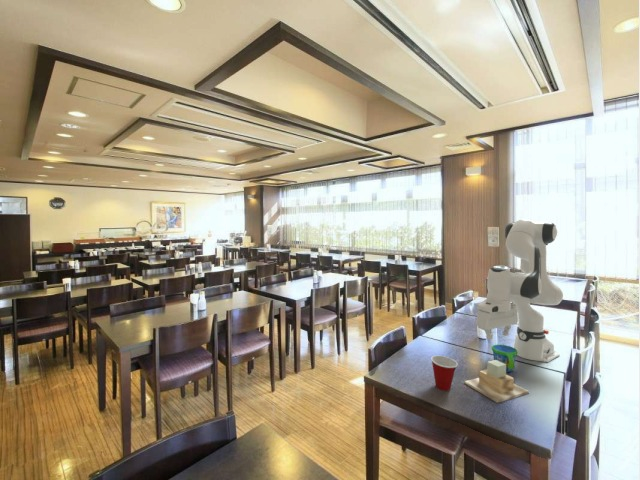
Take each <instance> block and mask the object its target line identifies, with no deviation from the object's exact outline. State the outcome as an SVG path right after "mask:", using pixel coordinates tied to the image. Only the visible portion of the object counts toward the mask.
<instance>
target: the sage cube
mask: <svg viewBox="0 0 640 480" xmlns="http://www.w3.org/2000/svg"><path fill="white" fill-rule="evenodd" d="M486 363H487V364H486V369H487V373H488V374H490V375H492V376H494V377H496V378H501V377H504V376H506V375H507V372H506V364H504V363H502V362H499V361H497V360H494V359H492V360H489V361H487V362H486Z"/></svg>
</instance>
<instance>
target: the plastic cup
mask: <svg viewBox="0 0 640 480" xmlns="http://www.w3.org/2000/svg"><path fill="white" fill-rule="evenodd" d="M430 360H431V364H432V369H433V370H432V371H433V376H434V377H433V378H434V383H435V387H436V388H437V389H438V390H440V391H444V392H446V391H450V390H451V388H452V382H453V379H454V375H455V371H456V368H457V367H458V366H459V363H458V362H457V361H456V359H453V358H451V357H449V356H444V355H432V356H431V358H430Z"/></svg>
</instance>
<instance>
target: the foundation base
mask: <svg viewBox="0 0 640 480" xmlns="http://www.w3.org/2000/svg"><path fill="white" fill-rule="evenodd" d="M478 374H479V375H478V377H475V378H473V379H468V380H465V381H464V384H465V385H467V386H469V387H470V388H472V389H473V390H475V391H477V392H479V393H480V394H481V395H483V396H485V397H486V398H488V399H490V400H492V401H494V402H495V403H496V404H498V403H502V402H505V401H508V400H511V399H512V400H513V399H515V398H518V397H521V396H525V395H528V394H530V393H529V392H530V391H529V390H528V389H525V388H524V387H522V386H519V385H517V384H516V383H514V381H515V378H514V377H512V376H511V375H508V374H506V376H504V377H501V378H496V377H494V376H492V375H490V374H488V373H487V368H486V369H483V370H480V371H479V373H478Z"/></svg>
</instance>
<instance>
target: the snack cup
mask: <svg viewBox="0 0 640 480" xmlns="http://www.w3.org/2000/svg"><path fill="white" fill-rule="evenodd" d="M491 350H492V353H493V354H492V355H493V356H492V357H493V360H497V361H499V362H502V363H504V364H506V373H511V372H513V371H514V369H515V363H516V358H517V356H518V355H517V354H518V352H517V350H516V349H515V348H513V346H510V345H504V344H494V345H492V346H491Z"/></svg>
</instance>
